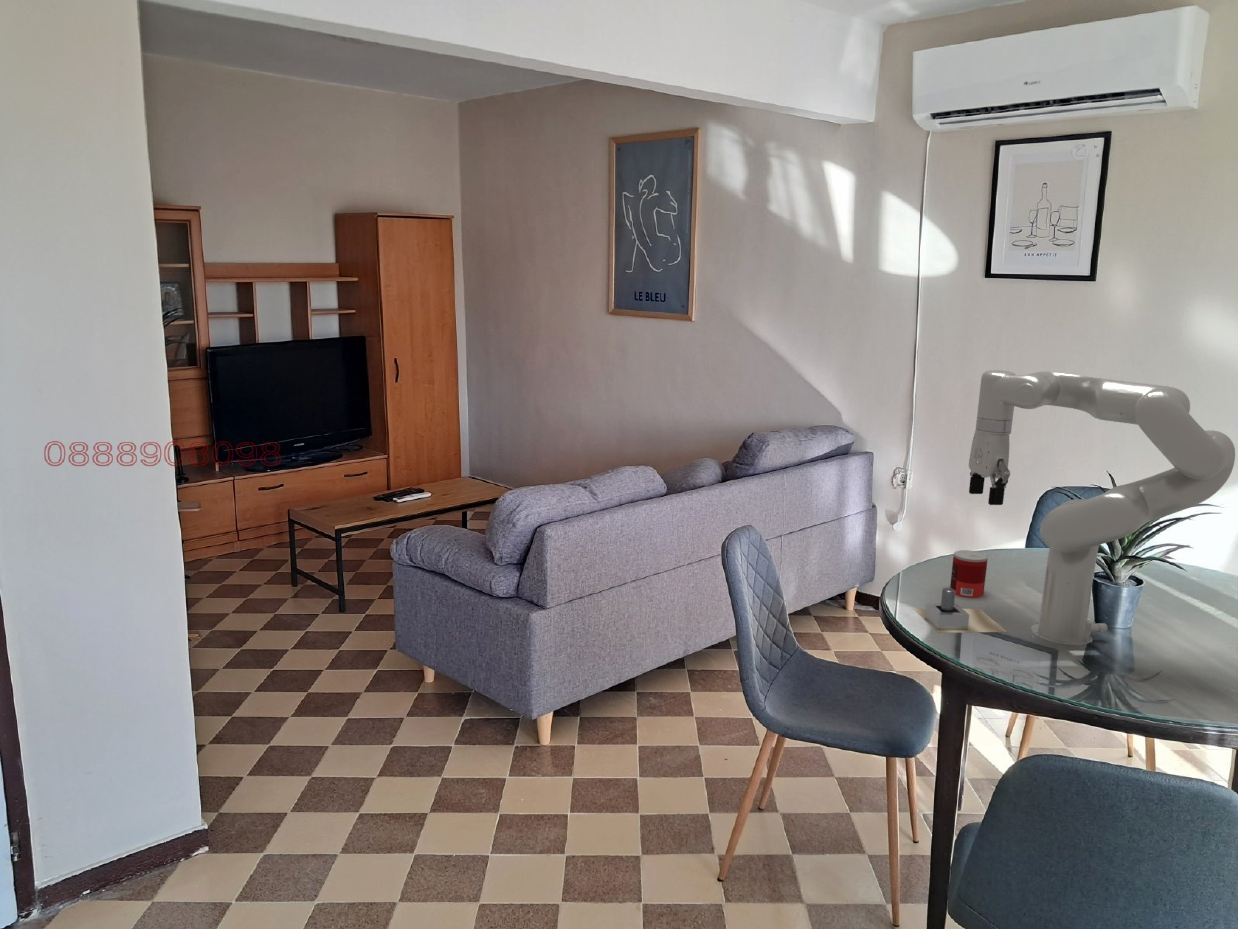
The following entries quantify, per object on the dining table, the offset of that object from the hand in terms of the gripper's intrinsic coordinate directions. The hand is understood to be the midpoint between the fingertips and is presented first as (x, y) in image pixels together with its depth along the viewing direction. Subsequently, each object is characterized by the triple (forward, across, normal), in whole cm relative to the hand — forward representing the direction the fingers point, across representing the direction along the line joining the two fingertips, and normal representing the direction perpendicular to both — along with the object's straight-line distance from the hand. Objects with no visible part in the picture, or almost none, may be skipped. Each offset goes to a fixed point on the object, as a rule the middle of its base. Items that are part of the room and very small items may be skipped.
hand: (985, 499), depth 219 cm
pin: (+27, +8, -10) cm, 30 cm away
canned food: (+28, -12, +4) cm, 31 cm away
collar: (+27, +8, -10) cm, 30 cm away
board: (+28, +6, -6) cm, 30 cm away
